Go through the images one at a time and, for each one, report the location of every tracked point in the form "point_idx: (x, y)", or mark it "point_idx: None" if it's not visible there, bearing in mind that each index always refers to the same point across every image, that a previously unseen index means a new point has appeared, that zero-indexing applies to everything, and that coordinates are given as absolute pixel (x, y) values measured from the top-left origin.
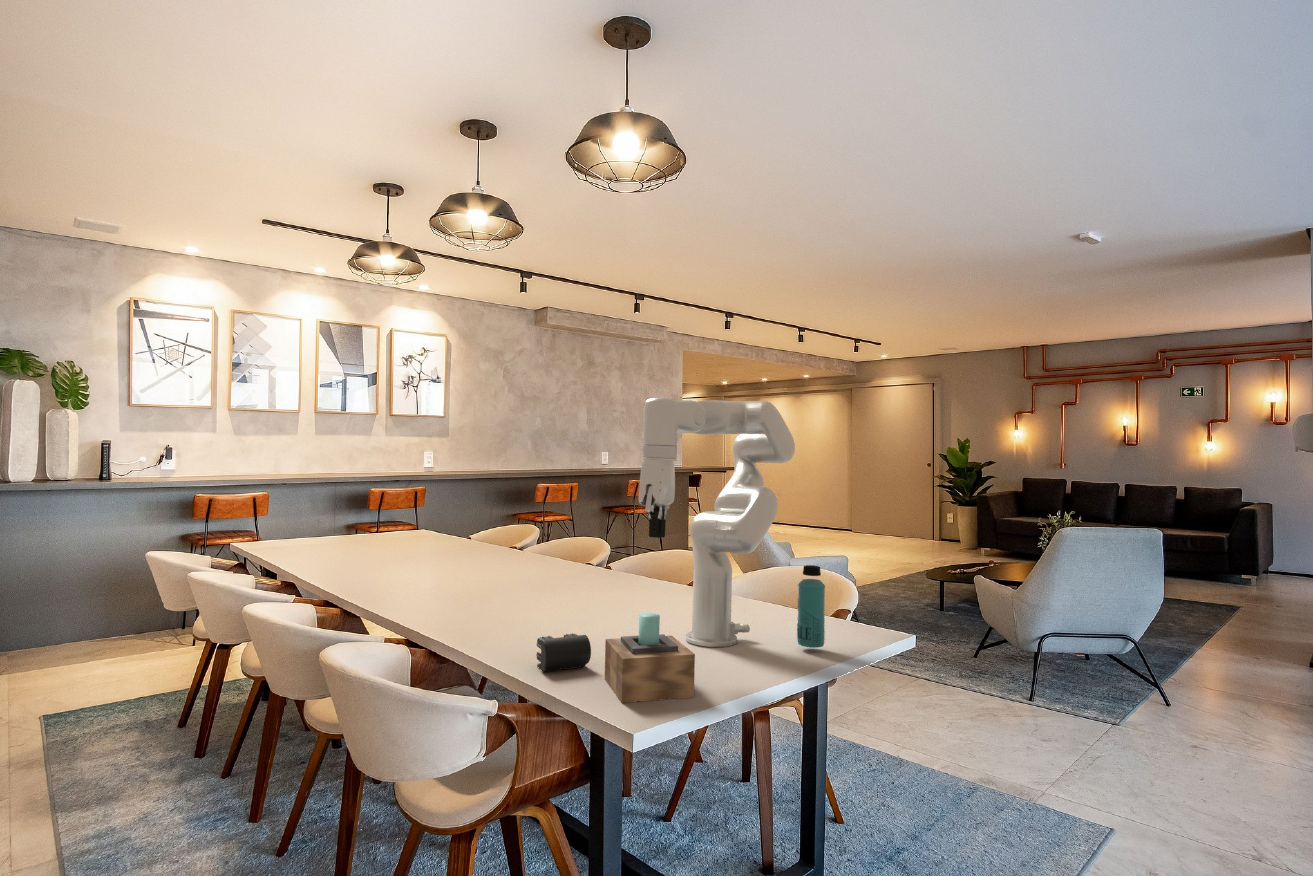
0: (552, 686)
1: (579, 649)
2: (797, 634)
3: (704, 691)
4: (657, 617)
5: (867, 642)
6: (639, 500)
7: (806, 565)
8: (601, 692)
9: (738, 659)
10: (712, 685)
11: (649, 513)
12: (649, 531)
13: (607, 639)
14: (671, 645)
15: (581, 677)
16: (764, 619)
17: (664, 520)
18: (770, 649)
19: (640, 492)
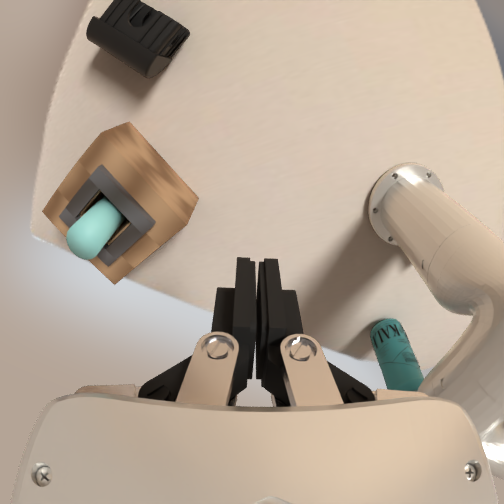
0: (74, 79)
1: (129, 65)
2: (387, 328)
3: (159, 257)
4: (82, 258)
5: (421, 356)
6: (39, 415)
7: None
8: (85, 147)
9: (318, 262)
10: (185, 260)
11: (161, 374)
12: (236, 273)
13: (100, 136)
14: (104, 258)
15: (121, 87)
16: None
17: (261, 381)
18: (380, 287)
19: (20, 480)
